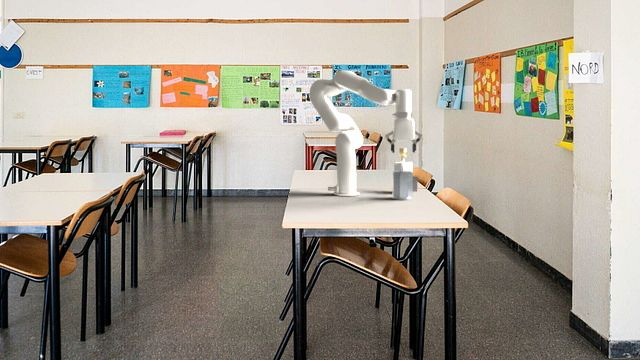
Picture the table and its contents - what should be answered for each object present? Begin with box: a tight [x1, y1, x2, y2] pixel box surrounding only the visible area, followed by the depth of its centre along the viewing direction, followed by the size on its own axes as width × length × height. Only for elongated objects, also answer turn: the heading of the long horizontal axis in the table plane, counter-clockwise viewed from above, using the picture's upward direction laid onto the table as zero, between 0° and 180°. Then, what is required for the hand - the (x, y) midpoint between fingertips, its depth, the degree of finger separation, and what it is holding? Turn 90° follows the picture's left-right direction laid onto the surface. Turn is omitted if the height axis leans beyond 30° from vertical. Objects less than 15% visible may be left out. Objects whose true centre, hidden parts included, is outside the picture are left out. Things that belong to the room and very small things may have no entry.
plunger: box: [398, 147, 408, 172], centre depth 298 cm, size 6×6×16 cm
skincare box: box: [393, 161, 413, 172], centre depth 318 cm, size 8×7×16 cm
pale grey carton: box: [392, 170, 419, 201], centre depth 299 cm, size 12×9×13 cm
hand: (403, 152), depth 297 cm, fingers open, 9 cm apart
